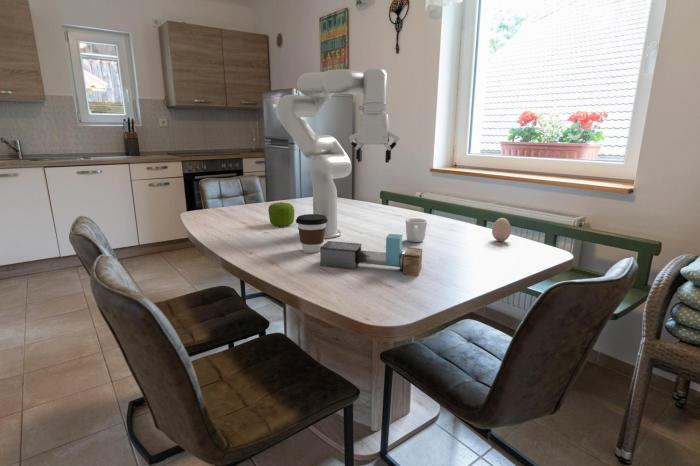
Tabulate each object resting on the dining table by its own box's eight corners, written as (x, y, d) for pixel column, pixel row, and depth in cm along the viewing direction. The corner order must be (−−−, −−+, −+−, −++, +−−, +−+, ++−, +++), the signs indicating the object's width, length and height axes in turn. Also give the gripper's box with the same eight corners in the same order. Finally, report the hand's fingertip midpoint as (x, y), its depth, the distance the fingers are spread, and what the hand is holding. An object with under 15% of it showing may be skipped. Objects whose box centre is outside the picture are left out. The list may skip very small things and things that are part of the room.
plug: (351, 267, 122) (351, 235, 119) (356, 262, 127) (356, 231, 124) (414, 273, 117) (416, 240, 114) (417, 267, 122) (418, 235, 119)
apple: (299, 224, 178) (298, 200, 175) (283, 229, 169) (282, 204, 167) (280, 221, 184) (279, 198, 181) (264, 226, 175) (262, 201, 172)
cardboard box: (402, 274, 117) (403, 254, 115) (406, 266, 124) (407, 247, 122) (418, 275, 115) (419, 256, 114) (421, 267, 122) (422, 248, 121)
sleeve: (320, 266, 123) (320, 247, 122) (328, 258, 131) (328, 241, 129) (354, 269, 120) (354, 250, 119) (361, 261, 128) (361, 243, 126)
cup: (425, 246, 145) (426, 224, 143) (403, 245, 147) (404, 223, 145) (426, 238, 155) (427, 218, 153) (405, 237, 157) (406, 217, 155)
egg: (488, 241, 152) (490, 217, 150) (495, 238, 157) (497, 215, 154) (505, 244, 147) (507, 220, 145) (512, 241, 152) (514, 217, 150)
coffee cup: (303, 256, 132) (302, 221, 129) (292, 248, 142) (291, 215, 139) (333, 252, 137) (332, 218, 134) (320, 244, 147) (320, 212, 144)
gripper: (346, 109, 131) (346, 162, 135) (398, 108, 126) (396, 163, 130) (352, 110, 138) (352, 160, 142) (402, 109, 133) (400, 161, 137)
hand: (373, 161), depth 136 cm, fingers open, 9 cm apart
